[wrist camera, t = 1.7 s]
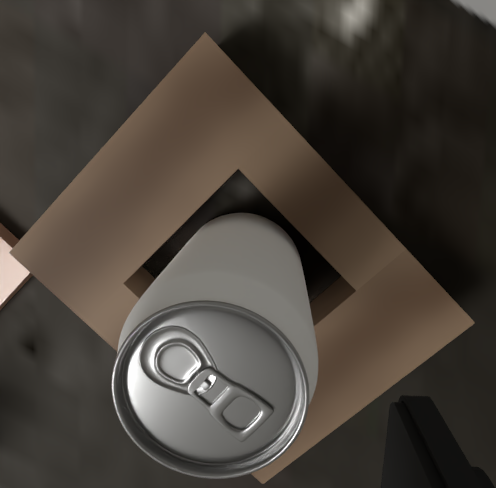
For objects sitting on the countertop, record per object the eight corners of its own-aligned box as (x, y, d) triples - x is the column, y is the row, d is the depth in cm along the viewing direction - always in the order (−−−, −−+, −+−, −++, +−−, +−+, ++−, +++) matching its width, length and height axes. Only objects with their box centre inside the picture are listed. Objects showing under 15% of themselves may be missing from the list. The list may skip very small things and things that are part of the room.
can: (235, 185, 22) (190, 236, 11) (326, 263, 23) (375, 389, 12) (161, 273, 24) (52, 401, 12) (249, 344, 25) (224, 528, 13)
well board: (450, 299, 23) (475, 322, 20) (264, 445, 26) (262, 484, 23) (215, 46, 21) (205, 32, 18) (41, 238, 24) (8, 252, 21)
